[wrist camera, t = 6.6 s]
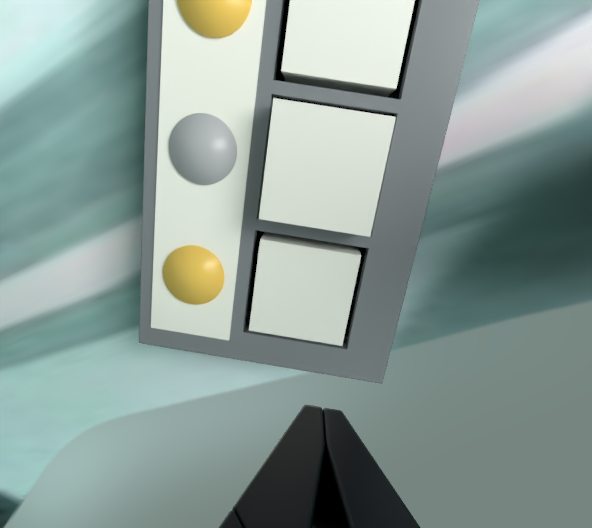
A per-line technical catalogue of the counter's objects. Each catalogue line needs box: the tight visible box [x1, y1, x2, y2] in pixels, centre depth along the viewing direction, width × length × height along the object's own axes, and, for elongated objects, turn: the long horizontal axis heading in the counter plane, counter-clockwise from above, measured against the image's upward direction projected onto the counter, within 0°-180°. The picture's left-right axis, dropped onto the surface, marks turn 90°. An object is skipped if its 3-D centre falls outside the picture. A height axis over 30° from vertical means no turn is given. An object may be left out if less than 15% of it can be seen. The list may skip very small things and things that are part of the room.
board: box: [139, 0, 480, 384], centre depth 17 cm, size 12×19×3 cm, turn 172°
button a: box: [281, 0, 415, 97], centre depth 15 cm, size 4×4×2 cm
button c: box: [249, 232, 361, 346], centre depth 18 cm, size 4×4×2 cm
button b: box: [259, 98, 396, 237], centre depth 15 cm, size 4×4×2 cm
